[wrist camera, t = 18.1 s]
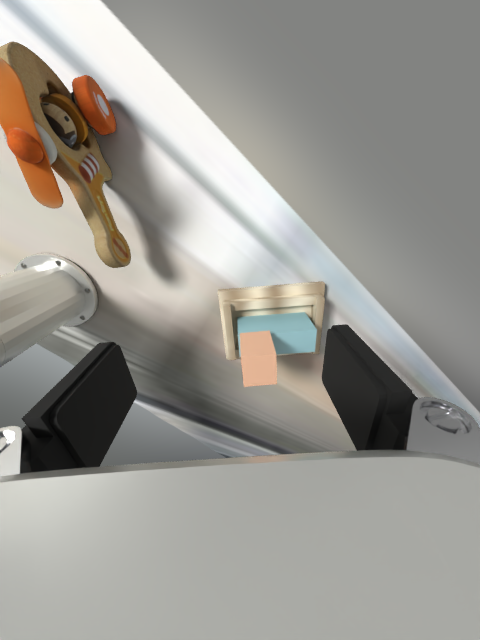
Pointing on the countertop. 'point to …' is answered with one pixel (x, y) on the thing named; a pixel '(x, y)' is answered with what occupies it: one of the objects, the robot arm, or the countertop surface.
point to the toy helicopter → (60, 141)
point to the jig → (269, 308)
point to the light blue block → (282, 331)
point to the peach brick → (258, 358)
